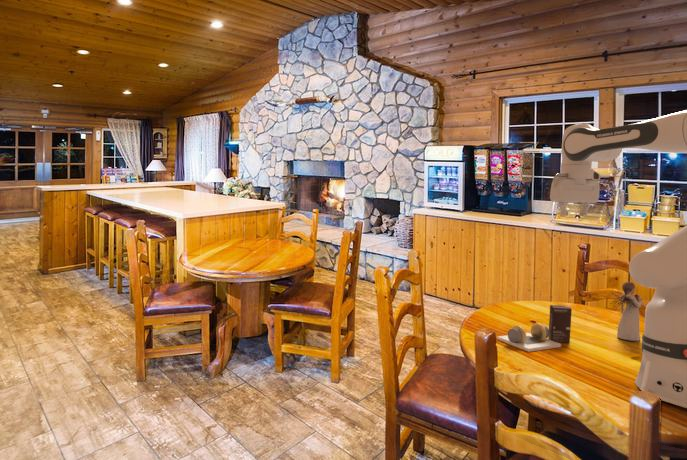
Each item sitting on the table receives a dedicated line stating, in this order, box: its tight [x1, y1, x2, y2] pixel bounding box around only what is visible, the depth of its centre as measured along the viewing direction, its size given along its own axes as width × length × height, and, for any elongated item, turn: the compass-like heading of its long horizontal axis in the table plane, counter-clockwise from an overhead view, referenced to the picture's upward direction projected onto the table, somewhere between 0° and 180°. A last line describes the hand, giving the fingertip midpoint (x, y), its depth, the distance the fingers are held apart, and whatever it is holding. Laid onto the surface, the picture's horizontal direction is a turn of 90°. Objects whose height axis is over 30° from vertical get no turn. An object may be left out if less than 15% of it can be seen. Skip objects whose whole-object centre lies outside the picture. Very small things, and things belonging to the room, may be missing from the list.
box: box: [548, 304, 572, 344], centre depth 149 cm, size 6×4×12 cm
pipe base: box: [496, 323, 562, 353], centre depth 146 cm, size 14×14×6 cm
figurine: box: [610, 281, 643, 342], centre depth 152 cm, size 10×10×20 cm
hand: (573, 216), depth 145 cm, fingers open, 8 cm apart
